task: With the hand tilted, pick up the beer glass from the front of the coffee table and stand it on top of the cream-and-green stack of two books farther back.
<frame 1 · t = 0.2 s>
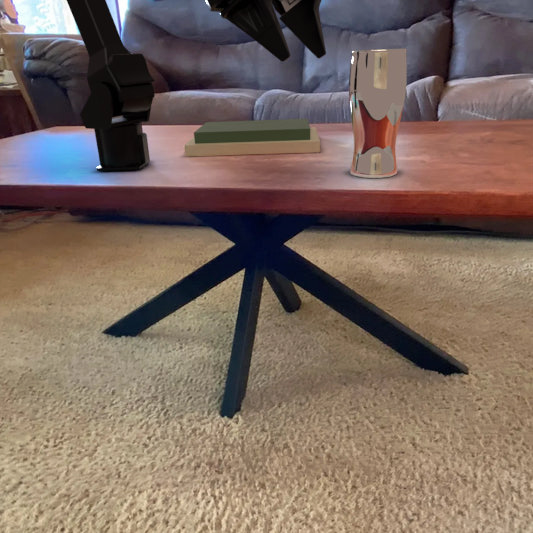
hand: (305, 57, 57), 15 cm above the table, tool tilted 30°, fingers open, 9 cm apart
beer glass: (373, 174, 67), on the table
book stack: (255, 146, 90), on the table
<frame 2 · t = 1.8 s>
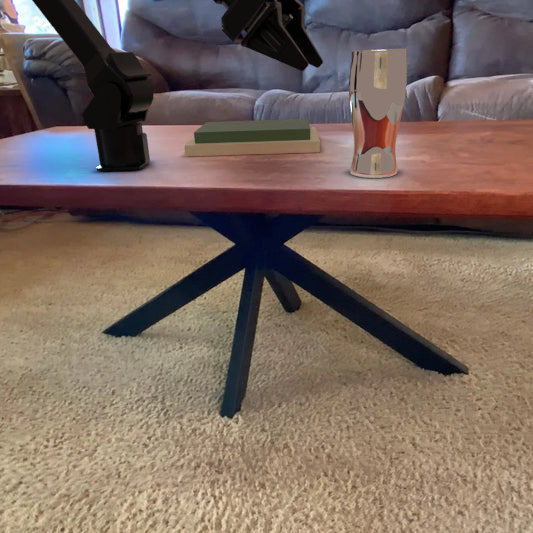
hand: (313, 66, 64), 13 cm above the table, tool tilted 45°, fingers open, 9 cm apart
nothing on the table moved.
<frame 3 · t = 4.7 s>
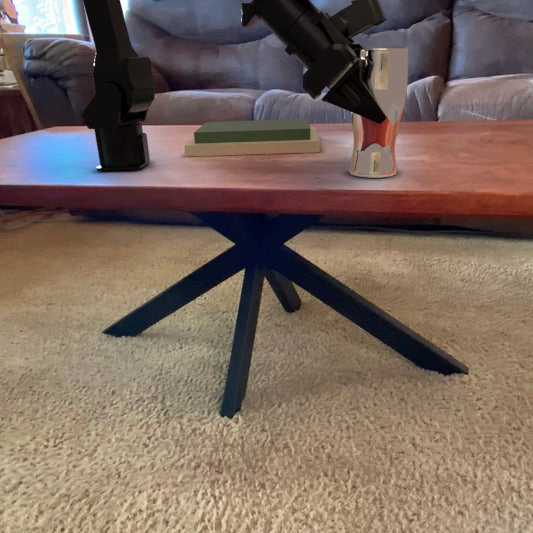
hand: (385, 117, 64), 7 cm above the table, tool tilted 45°, fingers closed on beer glass, 6 cm apart
beer glass: (372, 174, 67), on the table, touching gripper
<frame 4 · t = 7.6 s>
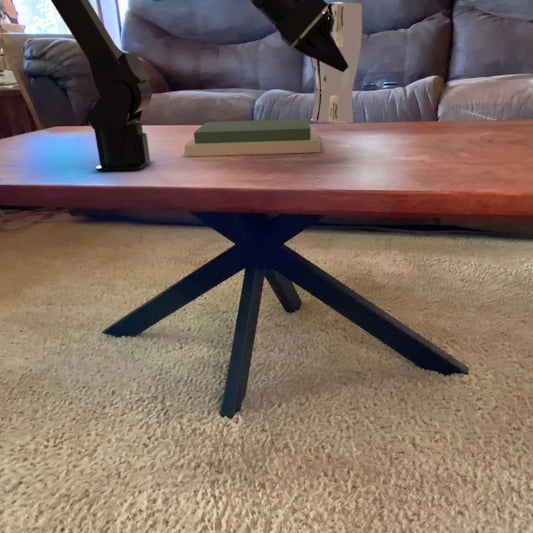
hand: (343, 68, 71), 13 cm above the table, tool tilted 45°, fingers closed on beer glass, 6 cm apart
beer glass: (331, 122, 74), point 6 cm above the table, touching gripper
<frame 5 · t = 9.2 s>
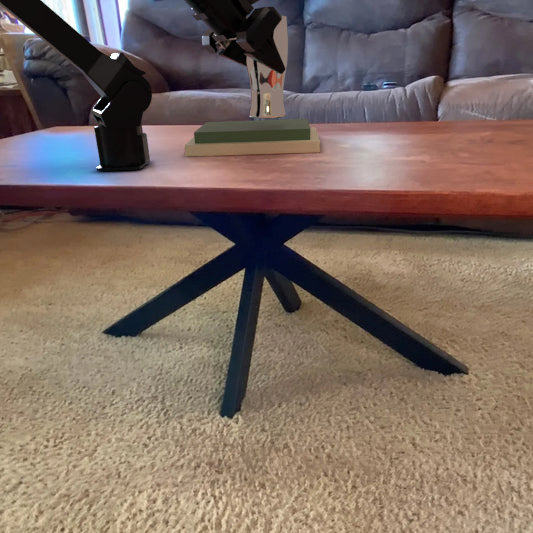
hand: (273, 71, 83), 12 cm above the table, tool tilted 45°, fingers closed on beer glass, 6 cm apart
beer glass: (267, 118, 85), point 5 cm above the table, touching gripper
when the fingers open (11 cm above the table, at t = 10.6 s): beer glass stays where it is, resting on book stack.
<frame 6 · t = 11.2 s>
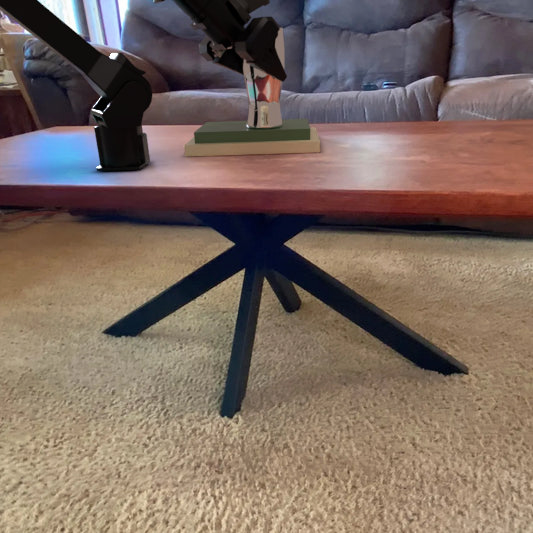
hand: (270, 78, 84), 11 cm above the table, tool tilted 45°, fingers open, 9 cm apart
beer glass: (264, 127, 86), point 3 cm above the table, touching book stack
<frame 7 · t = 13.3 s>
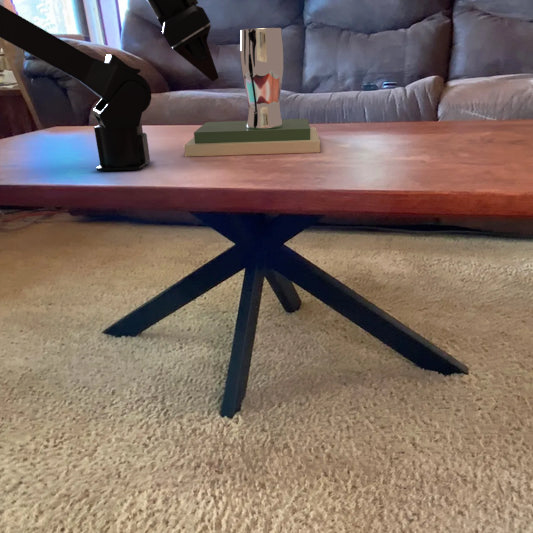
hand: (212, 74, 78), 12 cm above the table, tool tilted 30°, fingers open, 9 cm apart
nothing on the table moved.
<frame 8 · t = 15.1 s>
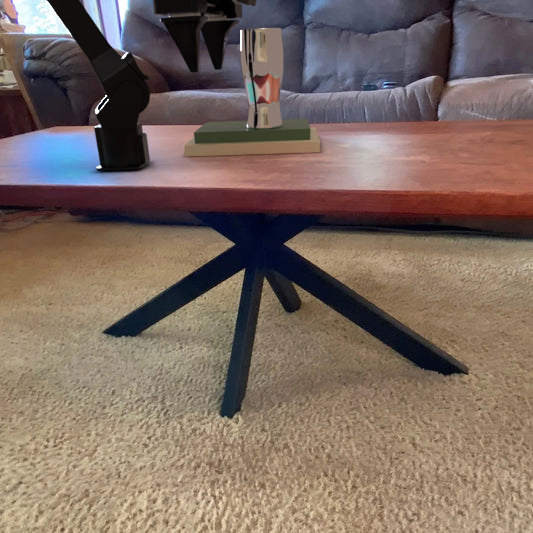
hand: (207, 70, 76), 13 cm above the table, tool pointing down, fingers open, 9 cm apart
nothing on the table moved.
at the end: beer glass inside the target area on the book stack (0.7 cm from its centre), point 3.4 cm above the book stack's base; beer glass tilted 0°; the gripper is holding nothing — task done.
